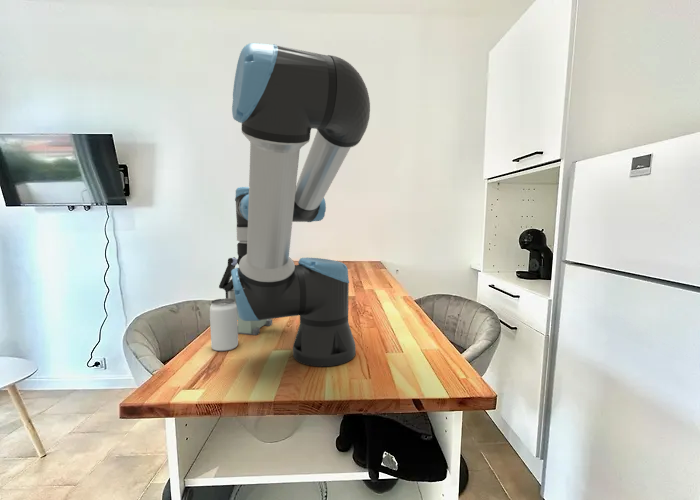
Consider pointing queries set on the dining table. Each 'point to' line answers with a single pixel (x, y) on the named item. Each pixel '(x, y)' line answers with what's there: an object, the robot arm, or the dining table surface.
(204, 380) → the dining table surface
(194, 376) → the dining table surface
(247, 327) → the door
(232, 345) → the can
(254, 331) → the cabinet
